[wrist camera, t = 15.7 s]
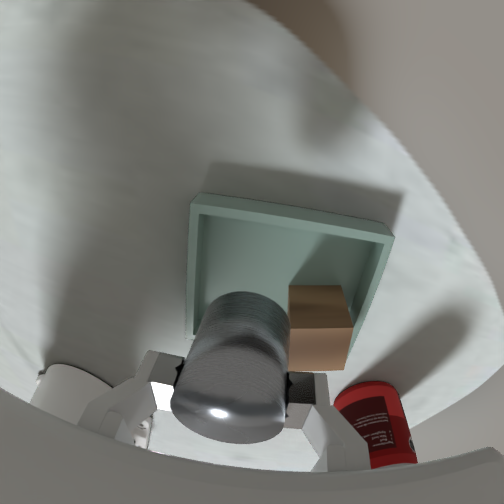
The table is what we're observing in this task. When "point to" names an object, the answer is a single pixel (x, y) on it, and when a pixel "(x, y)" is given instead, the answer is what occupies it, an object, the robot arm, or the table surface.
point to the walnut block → (318, 328)
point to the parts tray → (279, 254)
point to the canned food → (378, 422)
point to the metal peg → (236, 371)
